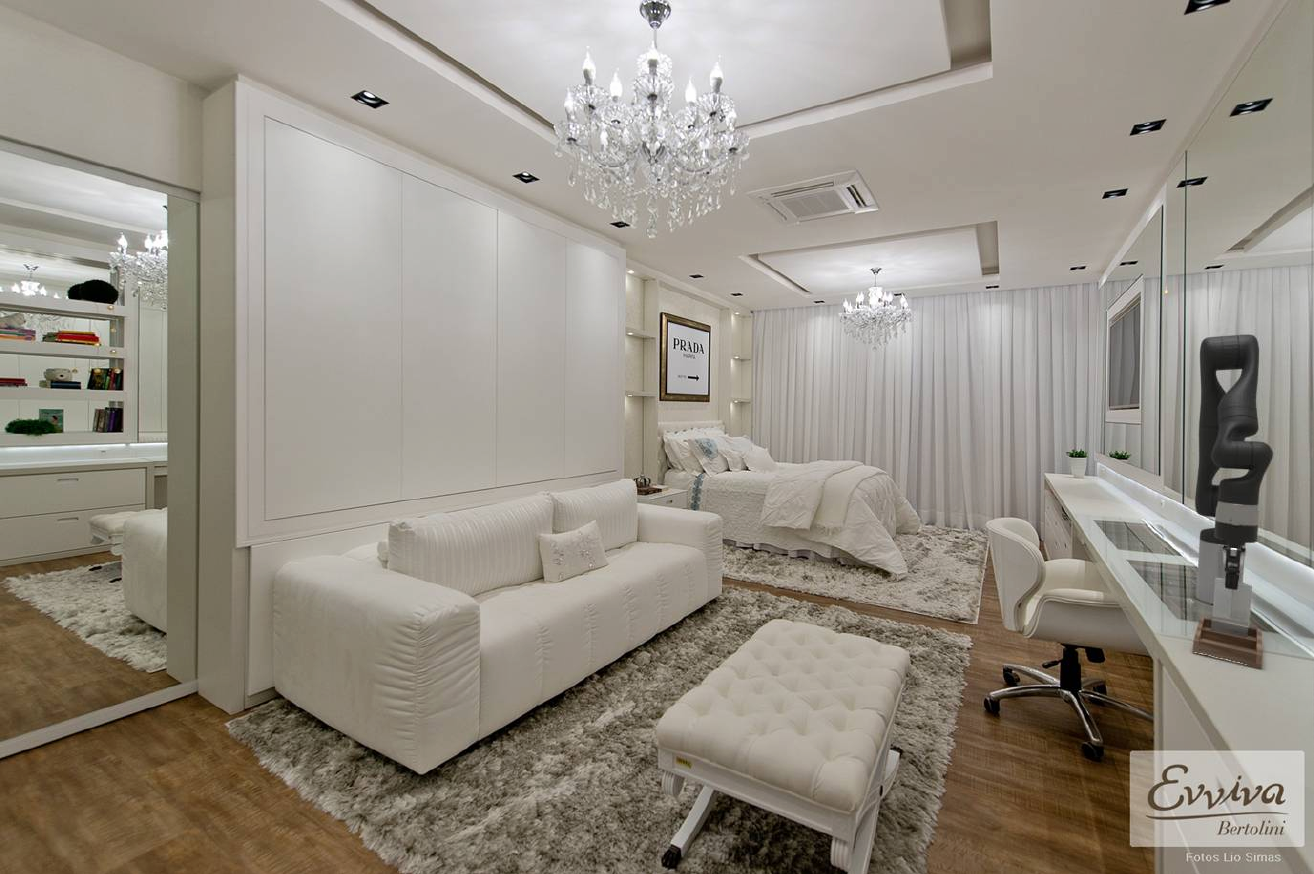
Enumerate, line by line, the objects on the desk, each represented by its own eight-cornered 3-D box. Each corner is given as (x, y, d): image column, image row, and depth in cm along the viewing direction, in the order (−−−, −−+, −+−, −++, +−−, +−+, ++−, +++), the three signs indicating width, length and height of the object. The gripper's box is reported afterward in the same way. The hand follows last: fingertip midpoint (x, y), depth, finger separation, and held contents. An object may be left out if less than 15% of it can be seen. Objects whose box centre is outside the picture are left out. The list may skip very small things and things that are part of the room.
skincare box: (1250, 633, 140) (1253, 585, 139) (1229, 632, 141) (1232, 584, 140) (1230, 624, 146) (1233, 578, 145) (1210, 623, 147) (1214, 577, 146)
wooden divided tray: (1199, 628, 143) (1200, 609, 142) (1260, 641, 135) (1262, 621, 135) (1192, 653, 129) (1194, 631, 128) (1261, 669, 121) (1262, 646, 121)
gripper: (1216, 515, 149) (1212, 576, 150) (1213, 522, 140) (1209, 587, 140) (1258, 520, 144) (1253, 583, 145) (1258, 527, 134) (1253, 595, 135)
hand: (1231, 585), depth 143 cm, fingers open, 8 cm apart
